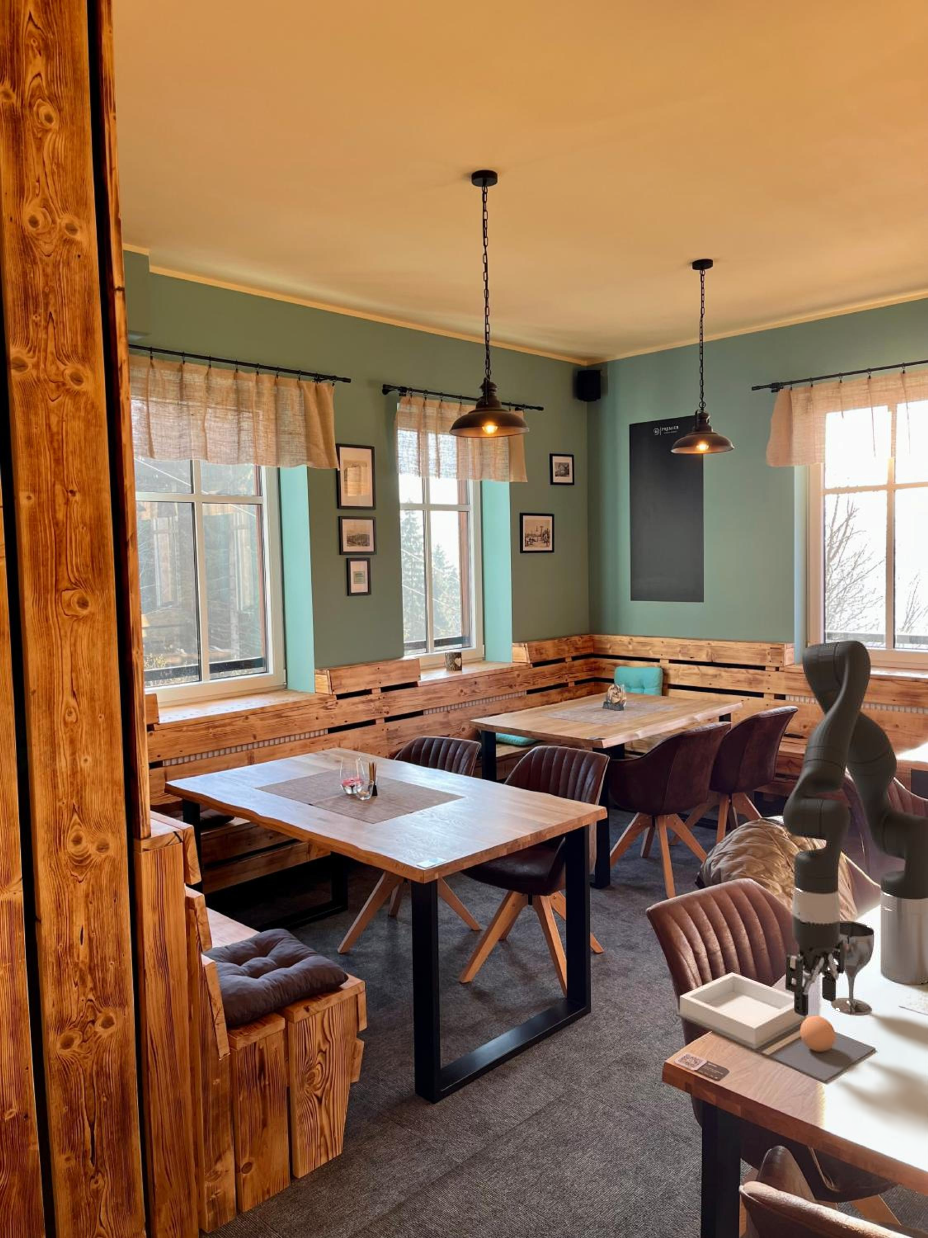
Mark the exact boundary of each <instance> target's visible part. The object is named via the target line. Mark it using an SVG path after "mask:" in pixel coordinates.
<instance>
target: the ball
mask: <svg viewBox="0 0 928 1238" xmlns="http://www.w3.org/2000/svg"><path fill="white" fill-rule="evenodd" d="M835 1032H836V1030H835V1029H834V1026H833V1025H832V1024H831V1022H830V1021H828V1020H827V1018H824V1017H822V1016H820V1015H812V1016H811V1015H810V1016H809V1017H806V1019H805V1020H804V1021H803V1023H802V1025H801V1029H800V1034H801V1038H802V1040H803V1042H804V1043H805V1044H806V1046H808V1047H809V1048H810V1049H812V1050H814V1051H818V1052H823V1051H826V1050H828V1049H830V1048H831V1047H832V1046H833V1044H834V1042H835Z"/></svg>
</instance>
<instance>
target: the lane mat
mask: <svg viewBox="0 0 928 1238" xmlns="http://www.w3.org/2000/svg"><path fill="white" fill-rule="evenodd" d="M675 1016H677V1017H678V1018H681V1019H683V1020H685V1021H688V1022H690V1023H691V1024H695V1026H696V1025H697V1026H699V1027H701V1028H703V1029H705V1030H707V1031H709V1032H711V1033H713V1034H716V1035H717V1036H720V1037H723V1038H725V1039H727V1040H728V1041H731V1042H733V1043H736V1044H738V1045H740V1046H742V1047H744V1048H747V1049H749V1050H751V1051H753V1052H756V1053H758V1054H760V1055H762V1056H765V1057H766V1058H769V1059H771V1060H772V1061H775V1062H778V1063H779V1064H782V1065H784V1066H786V1067H788V1068H791V1069H793V1070H795V1071H797V1072H799V1073H802V1074H804V1075H806V1076H808V1077H810V1078H813V1079H815V1080H817V1081H820V1082H822V1083H824V1084H826V1083H827V1082H829V1081H830V1080H832V1079H833V1078H836V1076H838V1075H840V1074H841V1073H842V1072H844V1071H846V1070H847V1069H849V1068H851V1067H852V1066H854V1065H855V1064H857V1063H858V1062H860V1061H861V1060H863V1059H864V1058H866V1057H867V1056H869V1055H871V1054H872V1053H874V1052H875V1051H876V1047H874V1046H871V1045H870V1044H866V1043H865V1042H862V1041H859V1040H857V1039H854V1038H852V1037H850V1036H847V1035H844V1034H842V1033H839V1032H837V1031H835V1042H834V1044H833V1046H832V1047H831V1048H830V1049H828V1050H826V1051H823V1052H818V1051H814V1050H812V1049H810V1048H809V1047H808V1046H806V1044H805V1043H804V1042H803V1040H802V1038H801V1034H800V1029H801V1025H802V1023H803V1022H802V1023H800V1024H799V1025H797V1026H795V1027H793V1028H791V1029H790V1030H788V1031H786V1032H784V1033H783V1034H781V1035H779V1036H777V1037H775V1038H774V1039H772V1040H770V1041H768V1042H766V1043H765V1044H763V1045H761V1046H759V1047H757V1048H756V1049H754V1048H751V1047H749V1046H747V1045H745V1044H743V1043H740V1042H738V1041H736V1040H734V1039H732V1038H729V1037H727V1036H725V1035H723V1034H721V1033H718V1032H716V1031H714V1030H712V1029H710V1028H707V1027H705V1026H703V1025H701V1024H698V1023H696V1022H694V1021H692V1020H690V1019H687V1018H685V1017H683V1016H681V1015H680V1011H678V1012H676V1013H675Z"/></svg>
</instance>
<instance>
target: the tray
mask: <svg viewBox="0 0 928 1238" xmlns="http://www.w3.org/2000/svg"><path fill="white" fill-rule="evenodd" d="M679 1012H680V1015H681V1016H683V1017H685V1018H687V1019H690V1020H692V1021H694V1022H696V1023H698V1024H701V1025H703V1026H705V1027H707V1028H710V1029H712V1030H714V1031H716V1032H718V1033H721V1034H723V1035H725V1036H727V1037H729V1038H732V1039H734V1040H736V1041H738V1042H740V1043H743V1044H745V1045H747V1046H749V1047H751V1048H754V1049H756V1048H757V1047H759V1046H761V1045H763V1044H765V1043H766V1042H768V1041H770V1040H772V1039H774V1038H775V1037H777V1036H779V1035H781V1034H783V1033H784V1032H786V1031H788V1030H790V1029H791V1028H793V1027H795V1026H797V1025H799V1024H800V1023H802V1022H803V1021H804V1020H805V1019H806V1018H807V1016H801V1015H799V1014H797V1013H795V1011H794V995H792V994H790V993H787V992H785V991H782V990H779V989H776V988H774V987H771V986H768V985H766V984H763V983H761V982H758V981H755V980H753V979H750V978H748V977H745V976H743V975H740V974H737V973H735V972H730V973H727V974H726V975H723V976H720V977H718V978H717V979H715V980H714V979H713V980H712V981H710V982H708V983H706V984H704V985H701V986H699V987H697V988H695V989H693V990H690V991H688V992H686V993H683V994H682V995H680V996H679Z"/></svg>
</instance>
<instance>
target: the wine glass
mask: <svg viewBox="0 0 928 1238" xmlns="http://www.w3.org/2000/svg"><path fill="white" fill-rule="evenodd" d="M839 939H840V940H843V942H844V973H845V975H846V978H847V984H848V985H847V986H848V997H838V998H837V997H836V1000H835V1001H833V1002H830V1005H831V1007H832V1008H833V1009H834V1010H836V1011H838V1012H840V1013H842V1014H845V1015H851V1016H866V1015H869V1014H871V1013H872V1011H873V1009H872V1007H871V1006H870V1004H868V1003H867V1002H864V1001H863V1000H860V999H857V998H854V989H855V987H854V986H855V980H856V977H857V976H858V973H860V972H861V970H863V969H864V968H865V967H866V966H867V965H868V964H869V963H870V962H871V959H872V956H873V952H874V947H875V946H874V945H875V930H874V928H873V927H871V926H869V925H868V924H865V923H861V922H858V921H852V920H840V936H839ZM834 961H835V962H837V963H836V964H838V960H837V959H834Z"/></svg>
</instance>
